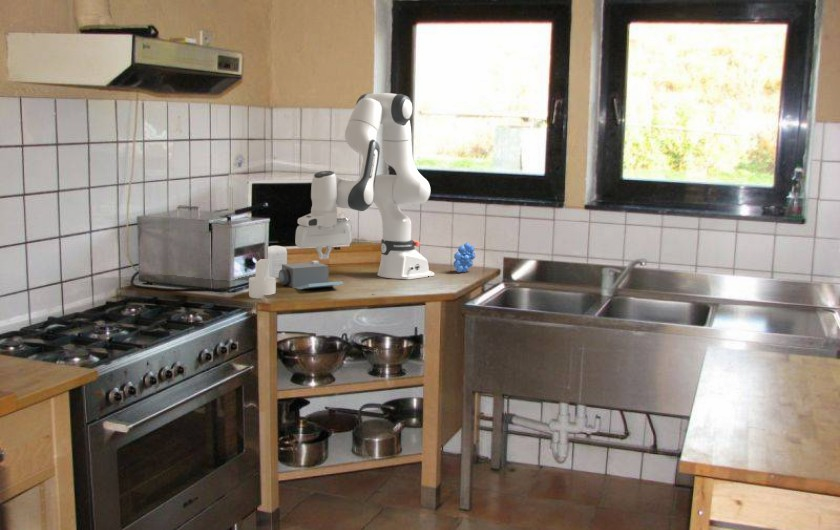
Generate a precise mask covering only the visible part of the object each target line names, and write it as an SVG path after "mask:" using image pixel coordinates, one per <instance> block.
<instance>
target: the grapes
mask: <svg viewBox="0 0 840 530" xmlns="http://www.w3.org/2000/svg"><path fill="white" fill-rule="evenodd" d="M457 250H458V251H457V252H455V253H454V255H453V257H454V261H453V267H454V268H455V270H456V272H457V273H463V272H465V273H467V272H468V271H469V268H472V267H473V266H474V262H473V260H474V259H476V254H475V247H474V245H471V244H470V243H469V242H466V243H464V244H463V245H462V244H461V245H459V247H458V248H457Z"/></svg>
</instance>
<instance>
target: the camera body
mask: <svg viewBox="0 0 840 530" xmlns="http://www.w3.org/2000/svg"><path fill="white" fill-rule="evenodd" d="M278 282H279V283H280V285H281V286H288V287H290V288H296V287H300V286H303V285H307V284H315V283H327V282H329V265H328V264H324V263H322V262H320V261H319V260H311V262H310V261H309V262H297V263H296V262H294V263H287V264H282V269H281V270H280V272H279V278H278Z"/></svg>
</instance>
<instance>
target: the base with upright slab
mask: <svg viewBox="0 0 840 530" xmlns="http://www.w3.org/2000/svg"><path fill="white" fill-rule="evenodd" d="M276 282H277V278H274V277H269V259H261V258H260V259H259V260H257V261H256V262H255V276H251V277H249V278H248V297H249V298H252V299H259V298H266V299H270V297H269V296H268V295H270V296H271V295H274V294H276V292H277V291H276V290H277V286H276V285H277V283H276Z"/></svg>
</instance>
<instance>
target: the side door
mask: <svg viewBox="0 0 840 530" xmlns="http://www.w3.org/2000/svg"><path fill="white" fill-rule="evenodd" d="M343 284H344V282H343V280H342V281H330V282H329V281H328V282H327V283H315V284H307V285H303V286H300V287H295V289H297V290H309V289H322V288H332V287H336V286H339V285H343Z"/></svg>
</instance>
